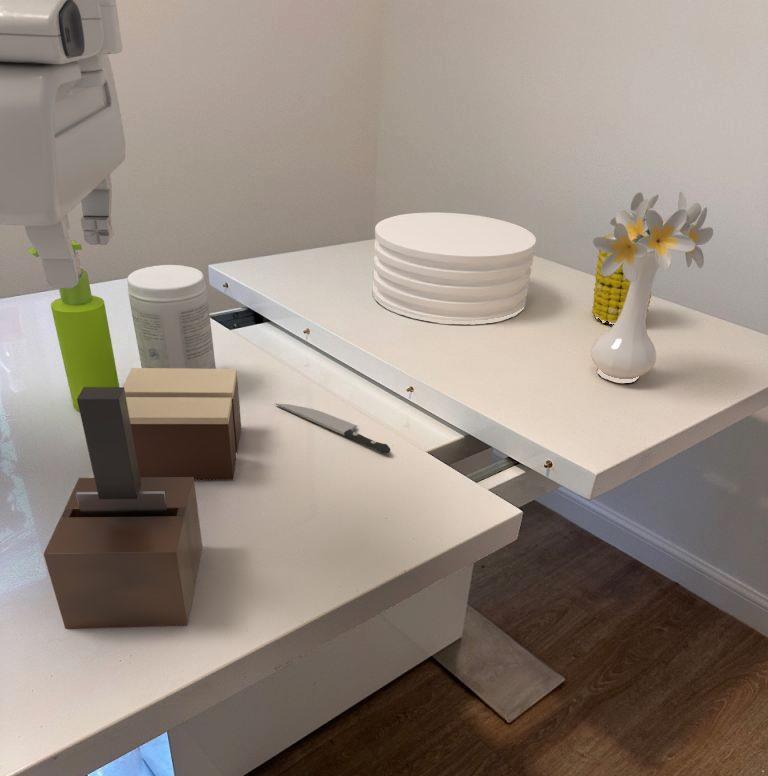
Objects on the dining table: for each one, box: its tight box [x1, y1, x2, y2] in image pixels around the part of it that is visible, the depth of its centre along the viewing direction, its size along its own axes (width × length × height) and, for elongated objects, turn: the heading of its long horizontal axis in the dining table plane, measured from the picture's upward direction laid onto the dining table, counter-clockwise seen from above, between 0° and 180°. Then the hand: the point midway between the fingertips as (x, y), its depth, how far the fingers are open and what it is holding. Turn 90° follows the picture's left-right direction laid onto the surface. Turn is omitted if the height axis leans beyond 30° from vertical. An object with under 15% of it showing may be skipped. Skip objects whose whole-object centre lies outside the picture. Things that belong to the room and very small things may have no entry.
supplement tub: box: [126, 264, 217, 369], centre depth 93 cm, size 10×10×15 cm
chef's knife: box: [274, 403, 391, 454], centre depth 90 cm, size 19×1×3 cm
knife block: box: [43, 477, 203, 629], centre depth 62 cm, size 10×11×8 cm
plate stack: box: [372, 211, 537, 321], centre depth 128 cm, size 28×28×12 cm
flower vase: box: [589, 190, 714, 379], centre depth 99 cm, size 13×18×25 cm
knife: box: [76, 386, 168, 517], centre depth 59 cm, size 7×2×19 cm, turn 95°
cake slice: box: [126, 397, 237, 481], centre depth 78 cm, size 12×5×8 cm, turn 95°
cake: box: [122, 367, 242, 454], centre depth 83 cm, size 12×6×8 cm, turn 95°
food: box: [591, 232, 652, 323], centre depth 122 cm, size 15×12×10 cm
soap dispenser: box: [26, 239, 120, 413], centre depth 86 cm, size 6×7×20 cm
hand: (84, 261), depth 49 cm, fingers open, 8 cm apart
